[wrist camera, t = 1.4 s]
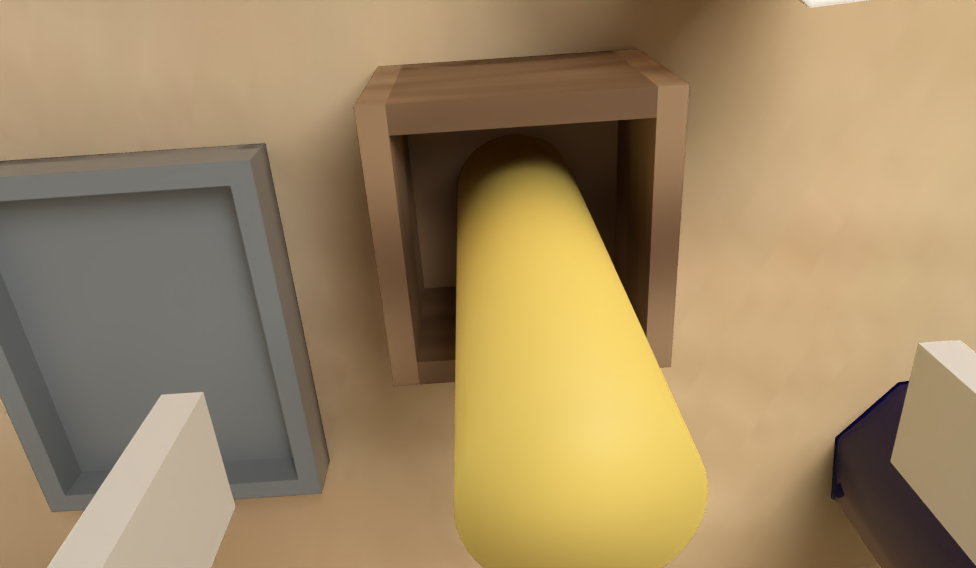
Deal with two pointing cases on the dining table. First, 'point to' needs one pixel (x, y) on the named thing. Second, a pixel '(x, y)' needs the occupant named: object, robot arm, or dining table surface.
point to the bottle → (888, 494)
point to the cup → (826, 2)
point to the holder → (529, 111)
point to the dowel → (557, 383)
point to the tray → (153, 316)
